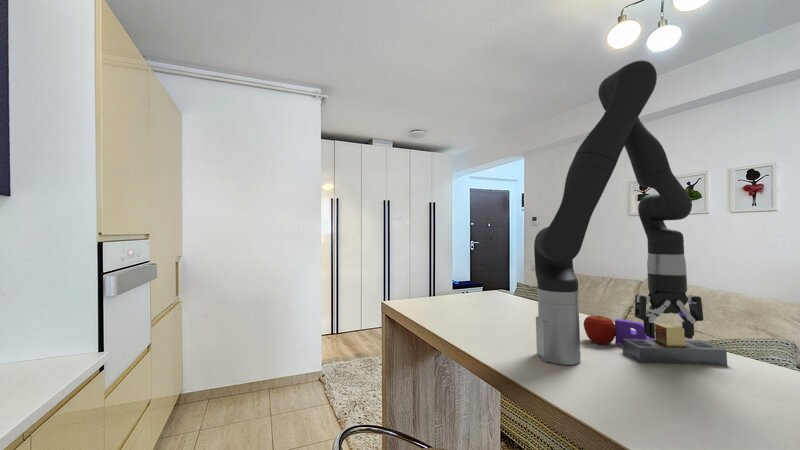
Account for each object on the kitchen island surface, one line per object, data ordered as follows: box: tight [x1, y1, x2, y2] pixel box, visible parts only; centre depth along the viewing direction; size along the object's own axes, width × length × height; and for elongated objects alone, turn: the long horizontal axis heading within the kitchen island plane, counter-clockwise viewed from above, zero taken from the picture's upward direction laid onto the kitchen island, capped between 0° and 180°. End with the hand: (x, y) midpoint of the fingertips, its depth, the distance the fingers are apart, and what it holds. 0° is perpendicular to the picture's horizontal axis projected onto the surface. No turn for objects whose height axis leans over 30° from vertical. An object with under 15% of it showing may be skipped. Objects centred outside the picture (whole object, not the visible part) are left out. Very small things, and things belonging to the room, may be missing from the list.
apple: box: [583, 315, 616, 345], centre depth 91 cm, size 8×8×8 cm
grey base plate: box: [622, 339, 728, 366], centre depth 79 cm, size 19×7×4 cm, turn 84°
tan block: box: [654, 323, 686, 348], centre depth 79 cm, size 4×4×8 cm
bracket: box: [614, 318, 655, 346], centre depth 92 cm, size 12×7×7 cm, turn 131°
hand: (669, 337), depth 79 cm, fingers open, 8 cm apart
